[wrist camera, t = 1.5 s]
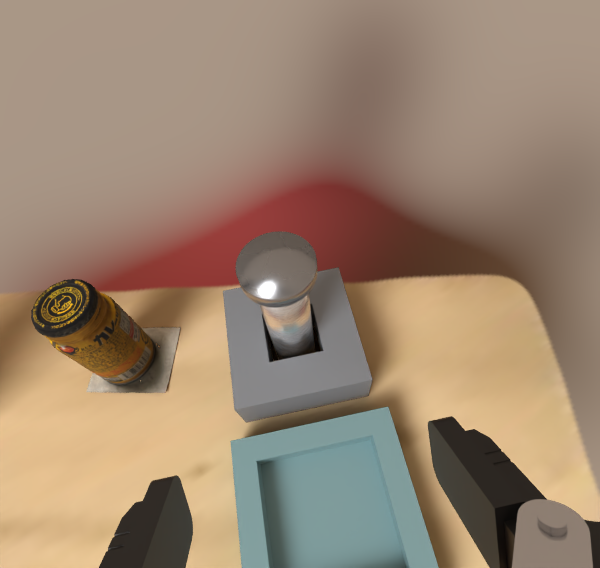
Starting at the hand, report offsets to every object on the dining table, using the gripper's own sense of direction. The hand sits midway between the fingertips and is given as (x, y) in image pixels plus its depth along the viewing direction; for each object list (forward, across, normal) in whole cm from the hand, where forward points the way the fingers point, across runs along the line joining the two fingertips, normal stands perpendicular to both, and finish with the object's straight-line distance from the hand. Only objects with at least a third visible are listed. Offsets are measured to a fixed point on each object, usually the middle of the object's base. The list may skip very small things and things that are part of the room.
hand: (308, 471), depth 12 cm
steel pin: (+27, 0, +7) cm, 28 cm away
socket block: (+27, 0, +7) cm, 28 cm away
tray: (+16, 0, +18) cm, 24 cm away
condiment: (+29, +17, +5) cm, 34 cm away
